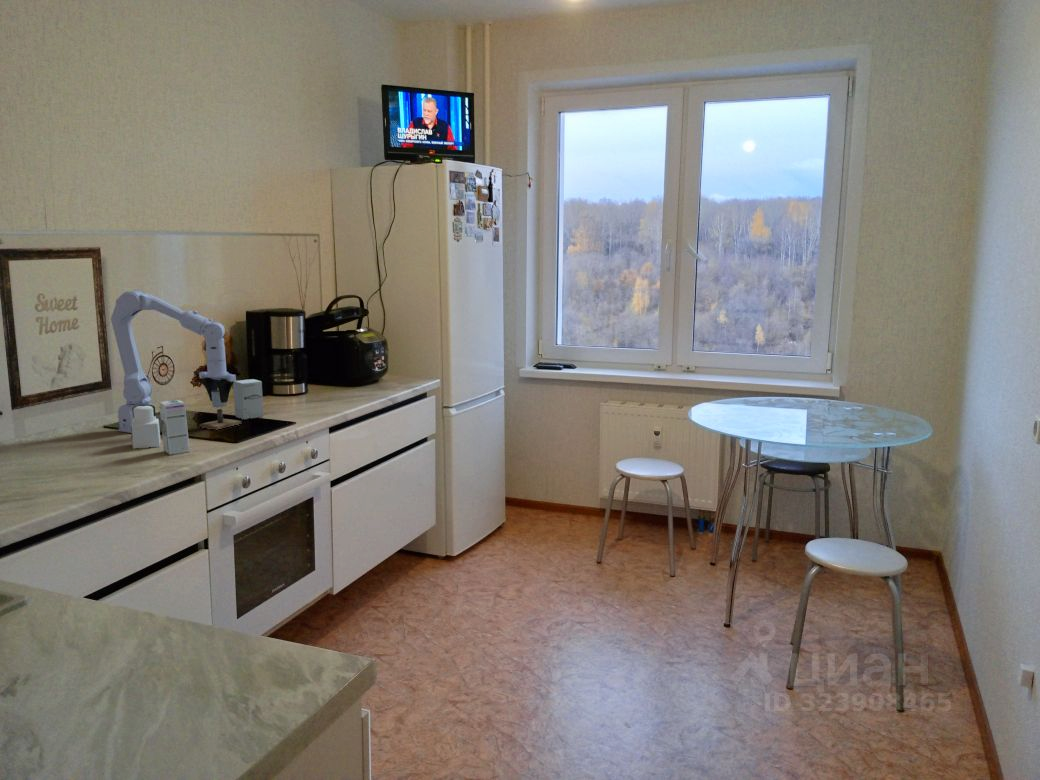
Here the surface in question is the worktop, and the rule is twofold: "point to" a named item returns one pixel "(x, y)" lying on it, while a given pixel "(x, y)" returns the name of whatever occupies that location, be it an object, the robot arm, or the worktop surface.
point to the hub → (217, 399)
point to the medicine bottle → (145, 427)
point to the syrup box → (174, 427)
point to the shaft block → (220, 422)
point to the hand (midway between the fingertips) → (219, 401)
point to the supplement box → (248, 398)
